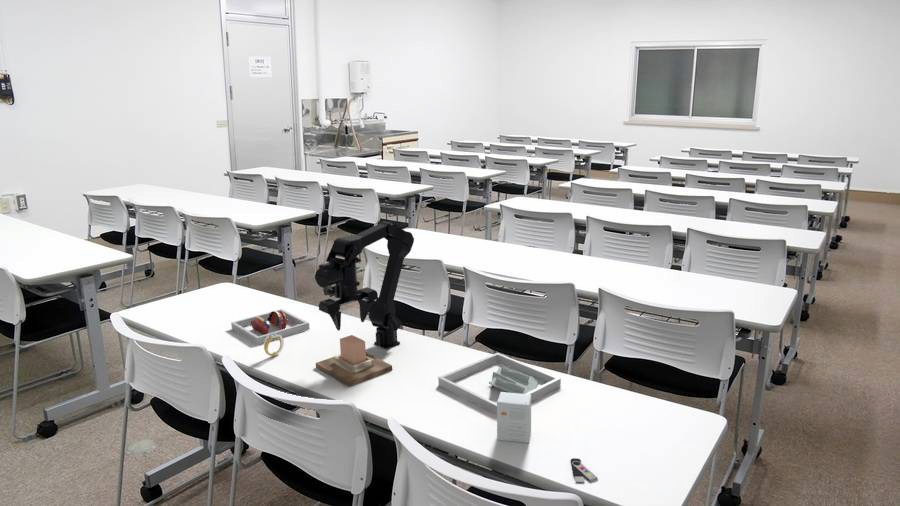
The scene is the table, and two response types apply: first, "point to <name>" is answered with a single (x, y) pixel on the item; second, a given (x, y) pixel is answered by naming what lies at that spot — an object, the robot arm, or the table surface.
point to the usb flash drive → (581, 471)
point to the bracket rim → (447, 379)
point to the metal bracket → (513, 381)
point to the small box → (514, 417)
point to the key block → (352, 350)
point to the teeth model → (273, 318)
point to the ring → (266, 343)
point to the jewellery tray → (258, 340)
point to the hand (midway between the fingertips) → (350, 325)
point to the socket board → (353, 369)
